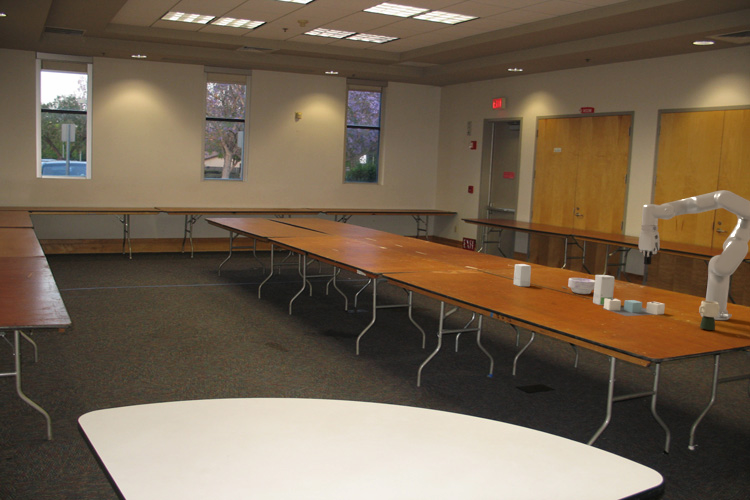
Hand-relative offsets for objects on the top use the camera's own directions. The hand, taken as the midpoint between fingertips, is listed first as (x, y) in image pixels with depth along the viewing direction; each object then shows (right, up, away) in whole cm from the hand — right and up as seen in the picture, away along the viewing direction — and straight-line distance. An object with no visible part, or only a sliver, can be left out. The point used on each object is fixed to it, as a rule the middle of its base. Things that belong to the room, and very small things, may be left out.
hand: (647, 264), depth 337 cm
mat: (-8, -24, 0) cm, 26 cm away
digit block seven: (-17, -23, +2) cm, 29 cm away
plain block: (-8, -24, -1) cm, 25 cm away
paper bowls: (-19, -18, +47) cm, 54 cm away
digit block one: (+3, -25, -3) cm, 25 cm away
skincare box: (-18, -22, +16) cm, 32 cm away
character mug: (+14, -30, -33) cm, 47 cm away
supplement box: (-50, -15, +64) cm, 83 cm away
